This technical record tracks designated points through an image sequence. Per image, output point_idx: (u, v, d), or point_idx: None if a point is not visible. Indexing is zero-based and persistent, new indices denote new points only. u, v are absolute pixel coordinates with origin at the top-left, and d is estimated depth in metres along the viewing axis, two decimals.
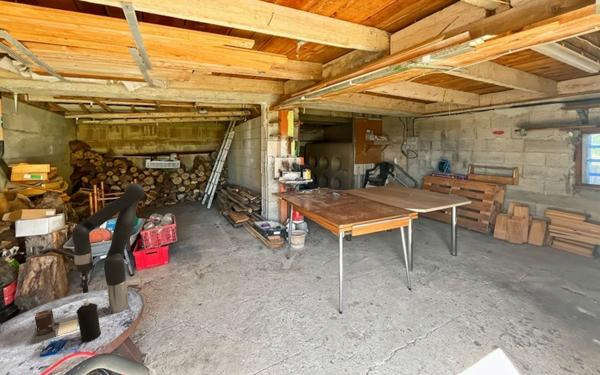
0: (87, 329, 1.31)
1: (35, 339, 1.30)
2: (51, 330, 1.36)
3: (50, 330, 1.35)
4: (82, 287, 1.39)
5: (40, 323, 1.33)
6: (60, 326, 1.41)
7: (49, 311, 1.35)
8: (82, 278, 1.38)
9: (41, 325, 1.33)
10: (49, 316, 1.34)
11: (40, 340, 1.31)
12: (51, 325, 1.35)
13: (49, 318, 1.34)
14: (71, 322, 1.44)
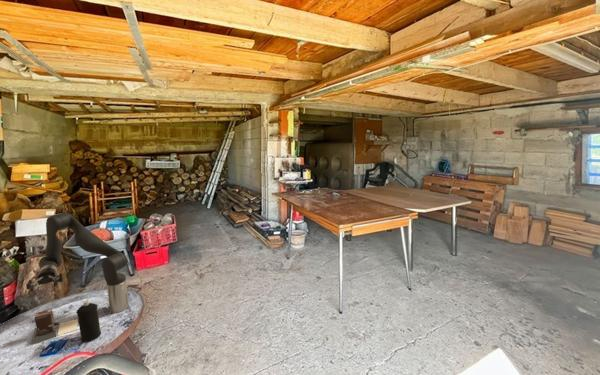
0: (87, 329, 1.31)
1: (35, 339, 1.30)
2: (51, 330, 1.36)
3: (50, 330, 1.35)
4: (27, 288, 1.41)
5: (40, 323, 1.33)
6: (60, 326, 1.41)
7: (49, 311, 1.35)
8: None
9: (41, 325, 1.33)
10: (49, 316, 1.34)
11: (40, 340, 1.31)
12: (51, 325, 1.35)
13: (49, 318, 1.34)
14: (71, 322, 1.44)
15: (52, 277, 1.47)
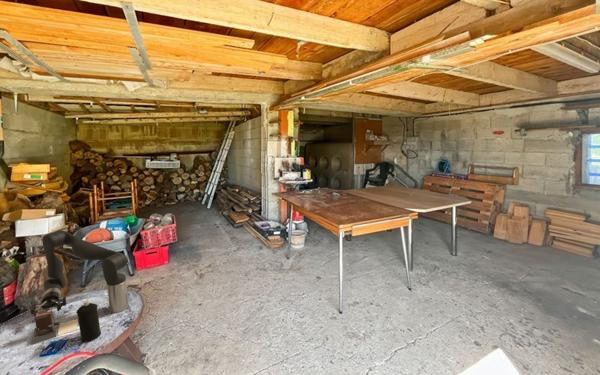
0: (87, 329, 1.31)
1: (35, 339, 1.30)
2: (51, 330, 1.36)
3: (50, 330, 1.35)
4: (31, 314, 1.41)
5: (40, 323, 1.33)
6: (60, 326, 1.41)
7: (49, 311, 1.35)
8: None
9: (41, 325, 1.33)
10: (49, 316, 1.34)
11: (40, 340, 1.31)
12: (51, 325, 1.35)
13: (49, 318, 1.34)
14: (71, 322, 1.44)
15: (56, 301, 1.48)
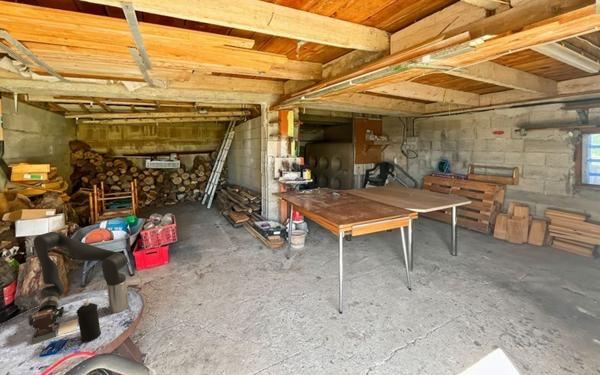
0: (87, 329, 1.31)
1: (35, 339, 1.30)
2: (51, 330, 1.36)
3: (50, 330, 1.35)
4: (29, 325, 1.34)
5: (40, 323, 1.33)
6: (60, 326, 1.41)
7: (49, 311, 1.35)
8: (29, 319, 1.37)
9: (40, 325, 1.33)
10: (49, 316, 1.34)
11: (40, 340, 1.31)
12: (51, 325, 1.35)
13: (49, 318, 1.34)
14: (71, 322, 1.44)
15: None
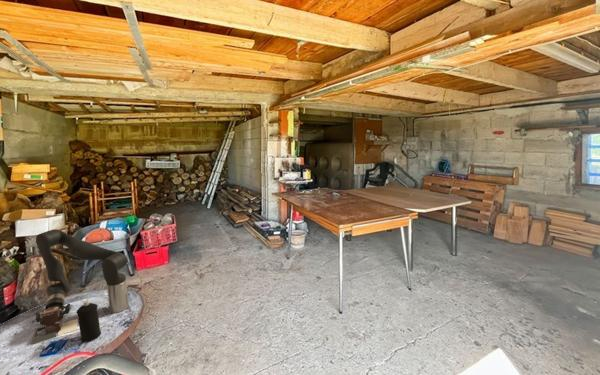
0: (87, 329, 1.31)
1: (35, 339, 1.30)
2: (58, 327, 1.37)
3: (57, 327, 1.37)
4: None
5: (47, 320, 1.34)
6: None
7: (56, 308, 1.37)
8: (36, 316, 1.38)
9: (48, 321, 1.34)
10: (56, 313, 1.35)
11: (40, 340, 1.31)
12: (58, 322, 1.37)
13: (56, 315, 1.36)
14: (71, 322, 1.44)
15: (59, 309, 1.41)
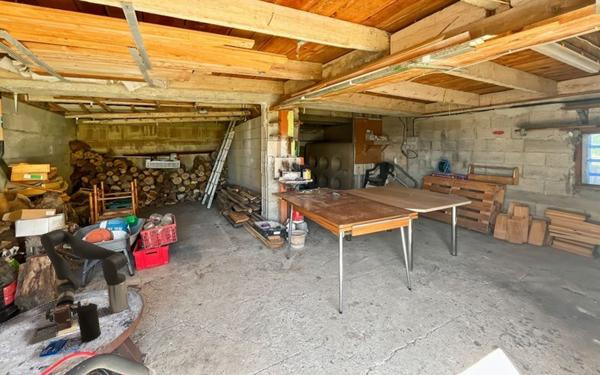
0: (87, 329, 1.31)
1: (35, 339, 1.30)
2: (69, 324, 1.40)
3: (68, 324, 1.40)
4: (46, 319, 1.37)
5: (58, 317, 1.37)
6: None
7: (67, 306, 1.39)
8: None
9: (59, 319, 1.37)
10: (67, 310, 1.38)
11: (40, 340, 1.31)
12: (69, 319, 1.40)
13: (67, 312, 1.38)
14: None
15: (71, 306, 1.44)
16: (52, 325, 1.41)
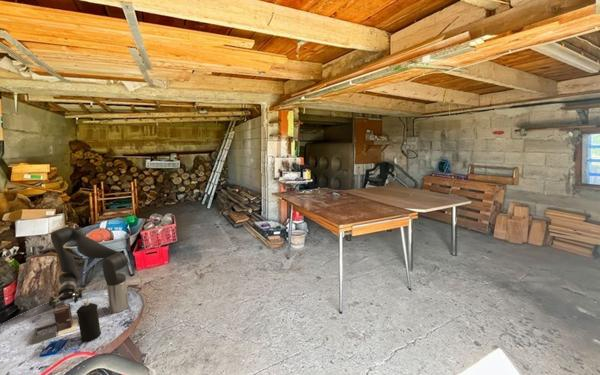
0: (87, 329, 1.31)
1: (35, 339, 1.30)
2: (69, 324, 1.40)
3: (68, 324, 1.40)
4: (49, 305, 1.48)
5: (58, 317, 1.37)
6: None
7: (67, 306, 1.39)
8: None
9: (59, 319, 1.37)
10: (67, 310, 1.38)
11: (40, 340, 1.31)
12: (69, 319, 1.40)
13: (67, 312, 1.38)
14: None
15: (72, 293, 1.54)
16: (52, 325, 1.41)
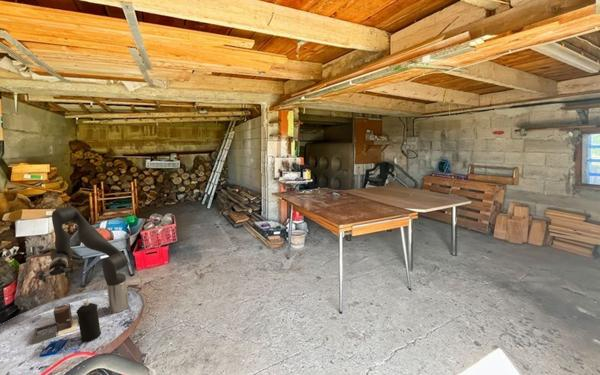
0: (87, 329, 1.31)
1: (35, 339, 1.30)
2: (69, 324, 1.40)
3: (68, 324, 1.40)
4: (39, 279, 1.43)
5: (58, 317, 1.37)
6: None
7: (67, 306, 1.39)
8: None
9: (59, 319, 1.37)
10: (67, 310, 1.38)
11: (40, 340, 1.31)
12: (69, 319, 1.40)
13: (67, 312, 1.38)
14: None
15: (63, 268, 1.50)
16: (52, 325, 1.41)
